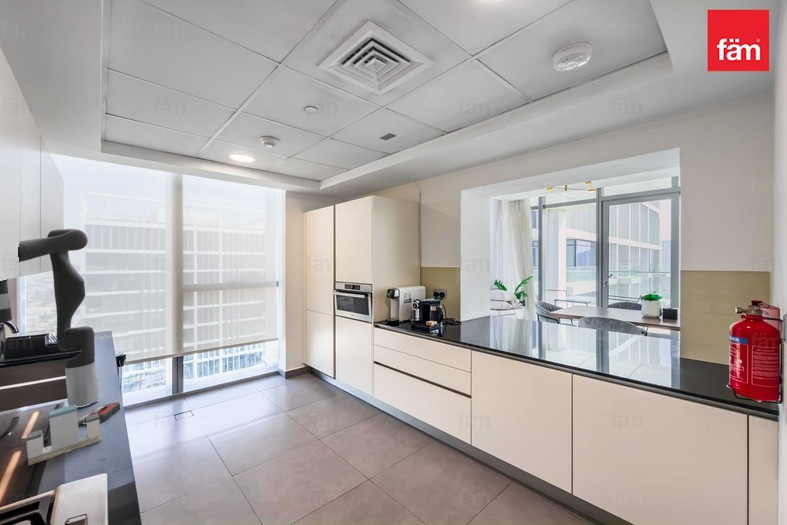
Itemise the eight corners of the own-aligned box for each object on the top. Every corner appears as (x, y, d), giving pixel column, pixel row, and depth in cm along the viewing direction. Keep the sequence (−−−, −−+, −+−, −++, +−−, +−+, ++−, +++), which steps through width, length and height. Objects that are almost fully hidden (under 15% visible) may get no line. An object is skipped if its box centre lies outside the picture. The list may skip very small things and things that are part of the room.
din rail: (30, 454, 99) (30, 452, 99) (98, 432, 110) (98, 430, 110) (29, 461, 96) (28, 458, 96) (100, 437, 107) (99, 435, 107)
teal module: (52, 445, 102) (49, 411, 102) (79, 437, 107) (76, 404, 106) (52, 450, 99) (48, 415, 99) (79, 442, 103) (76, 408, 103)
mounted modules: (29, 453, 99) (27, 433, 99) (99, 430, 110) (98, 413, 110) (28, 458, 96) (26, 438, 96) (100, 434, 107) (99, 416, 107)
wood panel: (30, 456, 100) (29, 454, 100) (99, 433, 111) (99, 431, 111) (28, 465, 95) (27, 463, 95) (101, 440, 106) (101, 438, 106)
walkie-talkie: (97, 412, 130) (62, 437, 111) (96, 401, 130) (61, 425, 111) (123, 407, 133) (93, 432, 114) (122, 397, 133) (92, 419, 114)
